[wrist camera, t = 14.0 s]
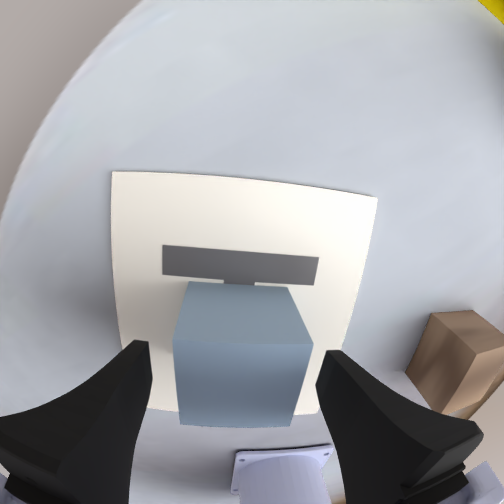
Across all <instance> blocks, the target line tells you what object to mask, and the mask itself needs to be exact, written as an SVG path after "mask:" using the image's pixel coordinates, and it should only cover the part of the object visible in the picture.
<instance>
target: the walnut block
mask: <svg viewBox="0 0 504 504" xmlns="http://www.w3.org/2000/svg"><path fill="white" fill-rule="evenodd" d="M503 362H504V334H503V333H501V332H500V331H499V330H498V329H496V328H495V327H494V326H493V325H491V324H490V323H489V322H488V321H486V320H485V319H484V318H482V317H481V316H480V315H479V314H477V313H476V312H475V311H473V310H469V311H455V312H439V313H431V315H430V318H429V320H428V323H427V325H426V328H425V330H424V333H423V335H422V337H421V340H420V342H419V344H418V347H417V349H416V351H415V353H414V355H413V358H412V360H411V362H410V364H409V366H408V368H407V370H406V372H405V373H406V375H407V376H408V377H409V379H410V380H411V381H412V383H413V384H414V385H415V387H416V388H417V390H418V391H419V392H420V394H421V395H422V396H423V398H424V399H425V401H426V402H427V403H428V405H429V406H430V407H431V409H432V410H433V411H435V412H438V413H441V414H444V415H447V414H450V413H452V412H455V411H457V410H459V409H462V408H464V407H466V406H469V405H471V404H473V403H475V402H477V401H480V400H481V399H482V397H483V396H484V394H485V393H486V391H487V389H488V388H489V386H490V385H491V383H492V381H493V380H494V378H495V376H496V375H497V373H498V371H499V370H500V368H501V366H502V364H503Z"/></svg>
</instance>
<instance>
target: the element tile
mask: <svg viewBox="0 0 504 504" xmlns="http://www.w3.org/2000/svg"><path fill="white" fill-rule="evenodd" d="M478 1H479V2H480V3H481V4H482V5H484V6H485V7H486V8H487V9H488V10H489V11H490V12H491V13H492V14H493V15H494V16H495V17H497V18H498V19H499V20H500V21H501V22H502V23H503V24H504V0H478Z"/></svg>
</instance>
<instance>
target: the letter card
mask: <svg viewBox="0 0 504 504" xmlns="http://www.w3.org/2000/svg"><path fill="white" fill-rule="evenodd" d="M377 200H378V198H376V197H371V196H366V195H360V194H355V193H349V192H343V191H337V190H331V189H325V188H318V187H311V186H304V185H297V184H290V183H282V182H274V181H265V180H256V179H246V178H236V177H225V176H213V175H199V174H183V173H163V172H130V171H114V172H112V187H111V246H112V266H113V280H114V291H115V301H116V310H117V318H118V325H119V332H120V339H121V345H122V350H123V349H124V348H125V347H126V346H127V345H128V344H130V343H131V342H132V341H133V340H134V339H135V340H142V341H149V350H150V359H151V367H152V375H153V381H152V387H151V392H150V398H149V401H148V405H147V408H152V409H159V410H166V411H175V412H179V410H178V402H177V392H176V382H175V371H174V358H173V343H172V338H173V334H174V331H175V327H176V324H177V320H178V316H179V313H180V309H181V306H182V303H183V299H184V296H185V292H186V289H187V286H188V282H189V281H193V282H207V283H222V284H239V285H256V286H276V287H288V290H289V292H290V294H291V296H292V298H293V300H294V302H295V304H296V307H297V309H298V311H299V313H300V315H301V317H302V320H303V322H304V324H305V326H306V328H307V330H308V332H309V335H310V337H311V339H312V341H313V343H314V345H313V349H312V353H311V357H310V360H309V364H308V368H307V371H306V375H305V378H304V382H303V385H302V388H301V392H300V395H299V398H298V402H297V405H296V408H295V411H294V414H293V415H301V414H314V413H317V412H318V409H319V407H320V405H319V401H318V397H317V392H316V387H315V384H316V381H317V378H318V375H319V372H320V369H321V365H322V362H323V359H324V356H325V353H326V350H341V347H342V344H343V341H344V338H345V335H346V332H347V328H348V325H349V322H350V318H351V315H352V312H353V308H354V305H355V301H356V297H357V294H358V290H359V286H360V282H361V278H362V274H363V270H364V266H365V261H366V257H367V253H368V248H369V243H370V238H371V234H372V228H373V223H374V218H375V212H376V206H377Z"/></svg>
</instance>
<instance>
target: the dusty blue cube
mask: <svg viewBox="0 0 504 504" xmlns="http://www.w3.org/2000/svg"><path fill="white" fill-rule="evenodd" d="M172 343H173V358H174V371H175V382H176V392H177V402H178V410H179V418H180V424H183V425H194V426H209V427H235V428H258V427H284V426H290V423H291V420H292V417H293V414H294V411H295V408H296V405H297V402H298V398H299V395H300V392H301V388H302V385H303V382H304V378H305V375H306V371H307V368H308V364H309V360H310V357H311V353H312V349H313V345H314V343H313V341H312V339H311V337H310V335H309V332H308V330H307V328H306V326H305V324H304V322H303V320H302V317H301V315H300V313H299V311H298V309H297V307H296V304H295V302H294V300H293V298H292V296H291V294H290V292H289V290H288V287H276V286H256V285H239V284H222V283H207V282H193V281H189V282H188V286H187V289H186V292H185V296H184V299H183V303H182V306H181V309H180V313H179V316H178V320H177V324H176V327H175V331H174V334H173V338H172Z"/></svg>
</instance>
